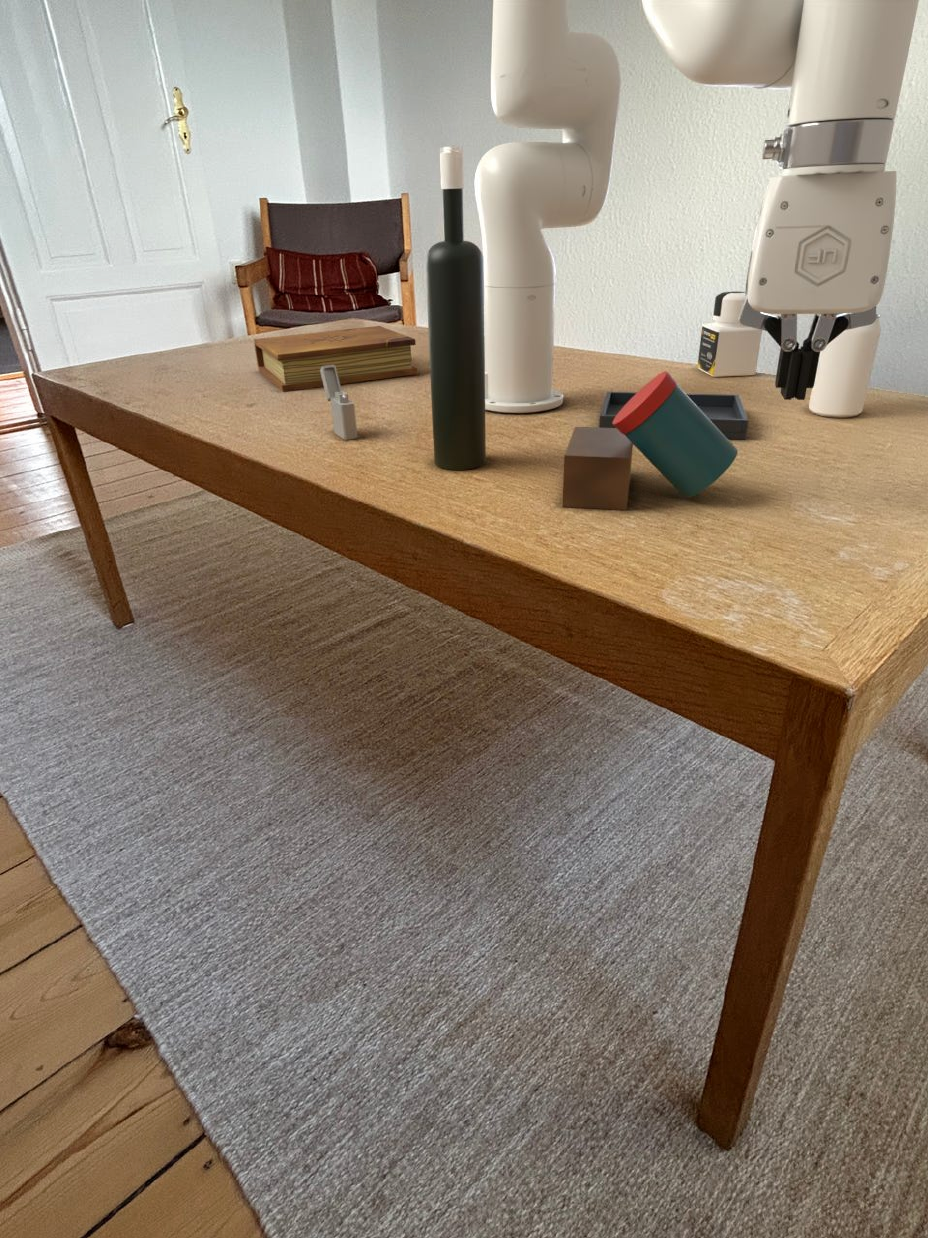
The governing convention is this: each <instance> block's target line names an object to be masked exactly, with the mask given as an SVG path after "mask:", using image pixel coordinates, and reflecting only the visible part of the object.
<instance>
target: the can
mask: <svg viewBox="0 0 928 1238" xmlns="http://www.w3.org/2000/svg"><path fill="white" fill-rule="evenodd" d="M841 314H844V313H841ZM876 316H877V317H876V320H875V322H874V323H873V324H870V325H866V326H862V327H858V328H854V329H848V330H845V331H843V332H842V333H841V334H840V335H838V336H837V337H836V338H835V339H834V340H832V341H831V342H830V343H829V344H828V345H827V346H826V348H825V349H824V350H823V351H820V356H819V361H818V367H817V372H816V378H815V383H814V387H813V388H811V391H810V397H809V403H808V410H809V411H810V413H811V414H814V415H816V416H820V417H826V418H834V419H849V418H855V417H857V416H859V415H860V414H861V413H862V412H863V411H864V406H865V401H866V397H867V394H868V389H869V385H870V381H871V376H872V371H873V367H874V363H875V359H876V355H877V350H878V345H879V340H880V337H881V332H882V331H881V330H882V326H881V323H880V318H881V315H880V314H878V313H876Z"/></svg>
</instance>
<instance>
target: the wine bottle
mask: <svg viewBox="0 0 928 1238" xmlns="http://www.w3.org/2000/svg"><path fill="white" fill-rule="evenodd" d="M439 170H440V172H439V174H440V190H441V198H442V200H441V202H442V226H443V227H442V228H443V241H439V242H436V243H433V245H432V246H431V247H430V248H429V249H428V251H427V253H426V256H425V259H424V260H425V262H424V263H425V266H424V267H425V284H426V305H427V306H426V307H427V329H428V331H427V332H428V349H429V351H428V352H429V353H428V354H429V373H430V375H429V376H430V395H431V396H430V397H431V416H432V418H431V419H432V439H433V440H432V441H433V459H434V461H433V462H434V465H435V466H436V467H438V468H440V469H443V470H447V471H449V470H450V471H468V470H474V469H477V468H481V467H482V466H484V465H485V464H486V463H487V450H486V447H487V445H486V443H487V441H486V410H485V325H484V260H483V252H482V251H481V249H480V248H479V246H477V245H476V243H474V242H472V241H469V240H465V237H464V236H465V234H464V233H465V232H464V231H465V230H464V191H463V190H464V188H465V187H464V148H463V146H456V145H455V146H453V145H452V146H451V145H450V146H440V147H439Z"/></svg>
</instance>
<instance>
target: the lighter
mask: <svg viewBox="0 0 928 1238" xmlns="http://www.w3.org/2000/svg"><path fill="white" fill-rule="evenodd" d="M320 373H321V377H322V381H323V385H324V386H323V388H324V393H325V397H326V401H328V402H330V406H331V407H330V408H331V415H332V423H333V433H334V434H335V435H337V436H338V437H340V438H341V439H343V440H344V441H349V440H355V439H358V437H359V436H358V428H357V418H356V407H355V402H353V401H351V400H350V399H349V393H347V392H345V391H344V390H342V386H341V384H340V382H339V378H338V374H337V370H336V366H335V365H326V366H323V367H322V368H321V370H320Z"/></svg>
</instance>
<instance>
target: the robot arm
mask: <svg viewBox="0 0 928 1238" xmlns="http://www.w3.org/2000/svg"><path fill="white" fill-rule="evenodd" d="M919 2H920V0H641V5H642V10H643V13H644V16H645V19H646V20H647V23H648V24H649V26H650V28H651V30H652V32H653V33H654V35H655V37H656V38H657V40H658V42H659V44H660V46H661V47H662V49H663V52H665V54H666V56H667V57H668V59H669V60H670V62H671V63H672V64H673V65H674V67H675V68H676V69H677V70H678V71H679V72H680V73H681V74H682V75H683V76H684V77H686V78H687V79H689V80H690V81H692V82H694V83H696V84H699V85H703V86H707V87H732V88H733V87H734V88H737V87H738V88H753V89H760V90H790V95H789V101H788V102H789V103H788V109H787V115H786V123H785V128H786V129H784V130H783V133H781V134H780V135H779V136H775V137H774V139H764V141H763V146H762V156H761V158H762V160H771V161H772V162H776V164H778V169H779V172H778V175H777V176H771V177H770V178H769V181H768V184H767V186H766V189H765V193H764V195H763V198H762V203H761V207H760V212H759V215H758V218H757V223H756V227H755V231H754V235H753V242H752V247H751V252H750V256H749V262H748V268H747V274H746V281H745V291H744V292H745V297H746V298H745V301H744V303H743V306H742V309H741V311H740V314H739V318H738V319H739V322H740V323H741V324H742V325H745V326H748V327H752V328H756V329H761V330H762V331H764V332H767V333H768V334H769V336H770V337H771V338H772V339H773V340H774V342H775V343H777V345H778V347H779V348H780V349H779V356H778V361H777V367H776V368H777V369H776V373H775V375H776V376H775V381H774V387H775V388H776V389H780V395H781V396H782V398H783V400H785V401H791V400H792V399H796V400H797V401H804V400H805V399H806V395H807V389H812V388H813V387H814V383H815V378H816V372H817V367H818V361H819V356H820V351H823V350H824V349H825V348H826V346H827V345H828V344H829V343H830V342H831V341H832V340H834V339H835V338H836V337H837V336H838V335H840V334H841V333H842V332H843V331H845V330H848V329H854V328H858V327H862V326H866V325H870V324H873V323H874V322H875V320H876V317H877V316H876V314H877V306H878V304H879V303H880V302H881V299H882V297H883V293H884V289H885V285H886V279H887V272H888V267H889V261H890V255H891V254H890V253H891V247H892V239H893V230H894V223H895V214H896V213H895V212H896V202H897V201H896V200H897V171H896V170H891V171H890V170H886V164H887V160H888V156H889V151H890V145H891V140H892V136H893V130H894V126H895V120H896V116H897V111H898V107H899V106H898V105H899V101H900V96H901V91H902V86H903V81H904V76H905V70H906V66H907V61H908V56H909V51H910V46H911V43H912V42H911V41H912V36H913V32H914V27H915V21H916V17H917V13H918V6H919ZM569 7H570V0H493V3H492V26H491V27H492V30H491V59H490V62H491V63H490V97H491V98H490V100H491V107H492V110H493V113H494V115H495V117H496V119H497V120H498V121H499V122H500V123H502V124H503V125H506V126H507V127H508V126H509V127H513V128H517V129H530V130H531V129H535V130H537V129H538V130H562V141H561V142H559V141H557V142H556V141H555V142H553V141H551V142H550V141H513V142H512V141H511V142H506V143H501V144H498V145H495V146H493V147H492V148H490V149H488V151H487V152H486V153H484V155H483V156H482V157H481V159H480V160H479V161H478V164H477V167H476V171H475V175H474V195H475V196H474V197H475V202H476V208H477V214H478V219H479V225H480V233H481V243H482V244H481V245H482V255H483V260H484V345H485V411H489V412H496V413H504V414H529V413H538V412H545V411H549V410H553V409H556V408H559V407H560V406H561V405H562V404H563V403H564V394H563V393H562V392H561V391H559V390H557V389H555V388H553V377H554V374H553V373H554V371H553V370H554V342H555V314H556V313H555V312H556V309H555V308H556V280H557V279H556V277H557V274H556V273H557V270H556V263H555V259H554V254H553V253H552V249H551V248H550V246H549V244H548V242H547V240H546V238H545V236H544V233H543V231H542V230H545V229H558V228H559V229H561V228H575V227H583V226H586V225H589V224H591V223H592V222H594V221H595V220H596V219H597V218H598V217H599V215H600V214H601V213H602V211H603V210H604V207H605V205H606V202H607V198H608V195H609V189H610V184H611V176H612V171H613V170H612V169H613V161H614V152H615V144H616V136H617V127H618V120H619V119H618V118H619V110H620V99H621V88H622V87H621V83H622V82H621V81H622V80H621V69H620V64H619V60H618V56H617V53H616V51H615V49H614V48H613V45H611V43H610V42H609V41H608V40H607V39H605V38H604V37H602V36H601V35H600V36H599V35H597V34H595V33H594V34H593V33H587V32H576V31H570V29H569ZM885 170H886V171H885ZM841 313H844V314H841ZM798 315H813V317H812V320H811V323H810V326H809V330H808V332H807V336H806V338H805V339H804V340H803V341H802V346H800V343H799V341H798Z"/></svg>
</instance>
